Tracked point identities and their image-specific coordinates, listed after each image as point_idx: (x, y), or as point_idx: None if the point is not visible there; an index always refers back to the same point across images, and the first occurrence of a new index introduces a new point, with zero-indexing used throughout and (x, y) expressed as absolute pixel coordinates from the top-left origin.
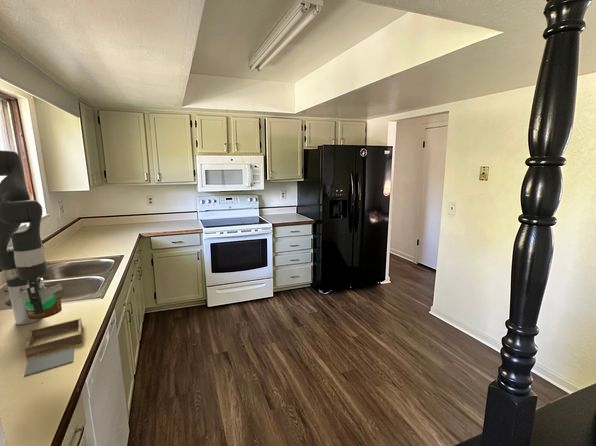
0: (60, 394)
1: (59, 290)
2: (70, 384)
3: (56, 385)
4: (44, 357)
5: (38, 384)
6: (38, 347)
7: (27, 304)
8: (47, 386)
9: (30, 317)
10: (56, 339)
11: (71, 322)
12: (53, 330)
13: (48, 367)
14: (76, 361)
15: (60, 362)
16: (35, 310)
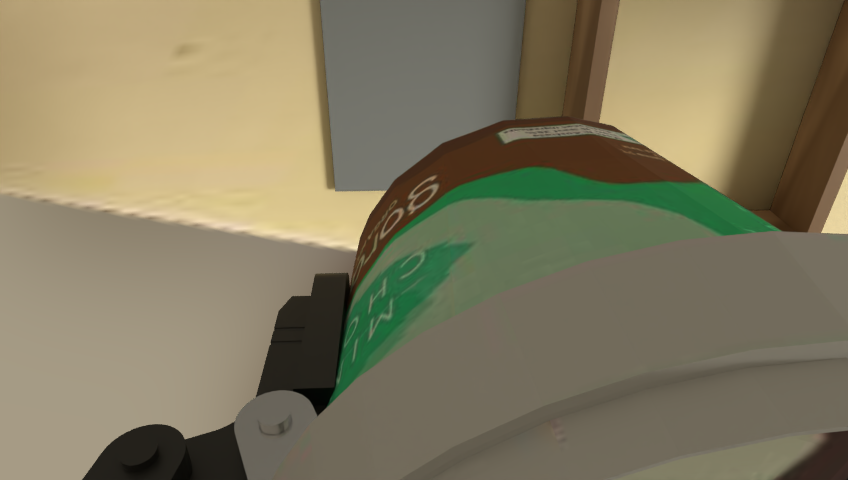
0: (25, 146)
1: None
2: (104, 185)
3: (122, 122)
4: (488, 38)
5: (176, 29)
6: (593, 9)
7: (403, 293)
8: (132, 79)
9: (424, 166)
10: None
11: (814, 195)
12: (837, 75)
13: (337, 72)
14: (334, 203)
15: (358, 132)
16: (276, 329)
